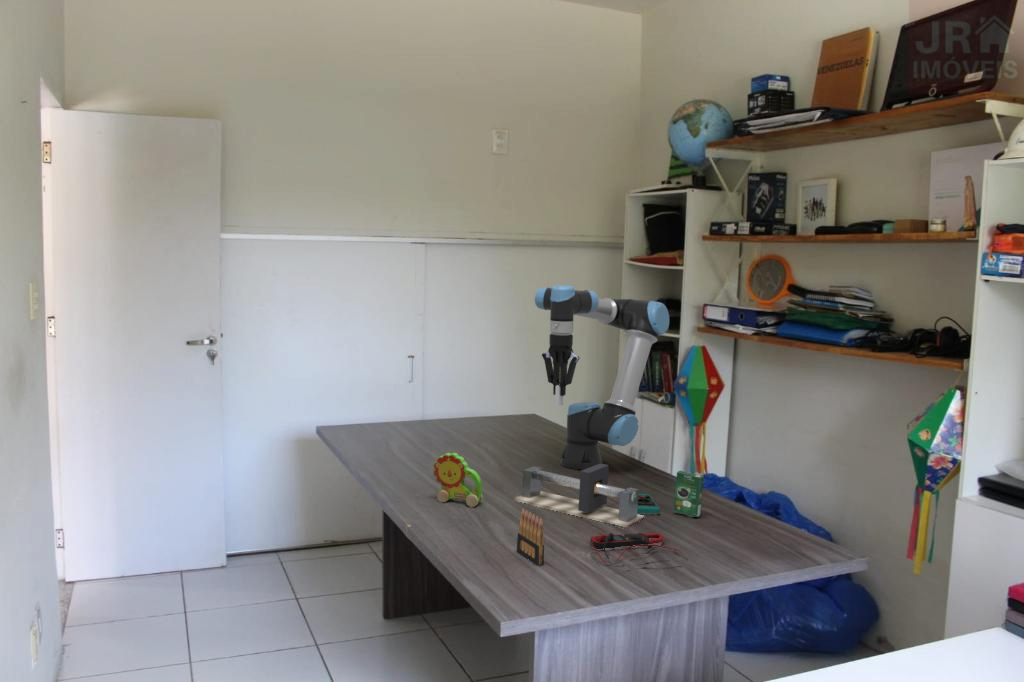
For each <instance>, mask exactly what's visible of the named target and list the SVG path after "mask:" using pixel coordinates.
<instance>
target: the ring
mask: <svg viewBox="0 0 1024 682" xmlns="http://www.w3.org/2000/svg"><path fill="white" fill-rule="evenodd" d="M609 467H610V465H609V464H605V463H602V464H601V463H600V464H597V465H595V466H592V467H590V468H587V469H584V470H579V473H580V474H579V475H580V476H579V479H580V489H578V490H579V492H578V500H579V508H578V511H583V512H590V511H592V510H594V509H596V508H598V507H600V506H605V505H606V504H607V502H608V496H606V495H602V494H594V483H595V482H599V483H600V484H603V485H608V486H609V469H610V468H609Z"/></svg>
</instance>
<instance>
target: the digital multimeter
mask: <svg viewBox="0 0 1024 682" xmlns="http://www.w3.org/2000/svg"><path fill="white" fill-rule="evenodd" d="M660 510H661V509H660V507H659V506H658V504H656V502H655V501H654V499H653V497H652V495H650V494H647V493H638V508H637V513H661V512H660Z"/></svg>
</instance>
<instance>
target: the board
mask: <svg viewBox="0 0 1024 682" xmlns="http://www.w3.org/2000/svg"><path fill="white" fill-rule="evenodd" d="M513 501H514V502H516V501H517V503H520V502H522V503H521V504H524V503H526V504H525V505H528V504H530V505H529V506H532V505H533V507H536V506H537V507H536V508H540V507H541V509H544V508H545V510H548V509H550V510H549V511H552V510H554V511H553V512H556V511H558V512H557V513H560V512H561V513H562V514H564V513H566V514H565V515H568V514H570V515H569V516H572V515H575V516H574V517H576V516H578V517H577V518H580V517H583V518H582V519H584V518H587V519H586V520H588V519H592V520H596V521H600V522H606V523H610V524H615V525H619V526H623V527H627V526H628V525H630V524H632V523H634V522H636V521H638V520H639V519H641V518H643V517H644V518H645V515H640V514H637V518H635V519H633V520H631V521H629V522H625V521H620V520H618V519H619V508H613V507H609V506H607V505H602V506H600V507H598V508H596V509H594V510H592V511H590V512H583V511H578V508H579V499H577V498H571V497H569V496H563V495H558V494H557V493H556V494H555V493H551V492H547V491H543V490H541V491H540V494H539V495H537V496H534V497H532V498H527V497H523V496H522V494H520V495H517V496H515V497H514V498H513ZM561 513H560V514H561ZM592 520H591V521H592ZM596 521H595V522H596ZM600 522H599V523H600Z"/></svg>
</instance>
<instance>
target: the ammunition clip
mask: <svg viewBox="0 0 1024 682" xmlns="http://www.w3.org/2000/svg"><path fill="white" fill-rule="evenodd" d="M535 515H536V514H534V513H533V514H532V512H531V511H528V509H526V510H525V508H524V507H522V509H521V513H520V521H519V527H518V533H517V538H516V539H517V540H516V553H518V554H519V555H520V556H522V555H523V556H522V557H524V558H525V559H527V560H528V559H529V560H528V561H529V562H531V561H532V562H533V563H532V562H531V563H532V564H534V563H535V564H536V566H537V565H539V566H543V564H544V563H545V562H544V561H545V559H544V558H545V544H544V523H543V519H542V517H540V518H539V516H538V515H536V516H535ZM535 564H534V565H535Z"/></svg>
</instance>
